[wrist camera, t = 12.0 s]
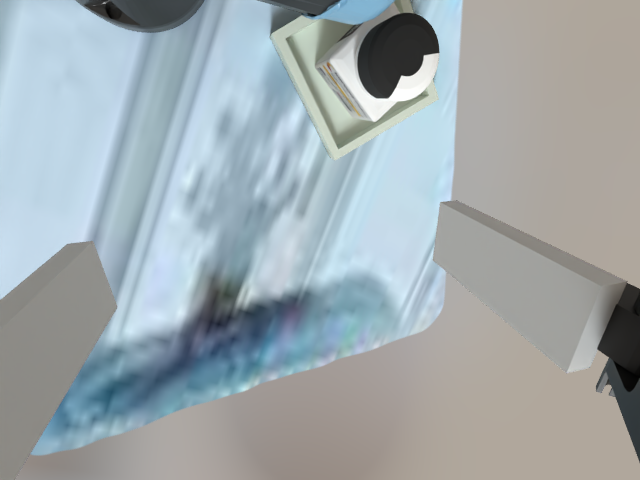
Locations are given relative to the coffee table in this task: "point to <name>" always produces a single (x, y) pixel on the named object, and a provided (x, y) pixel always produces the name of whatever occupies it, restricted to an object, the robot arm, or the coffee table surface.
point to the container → (381, 63)
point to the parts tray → (319, 100)
